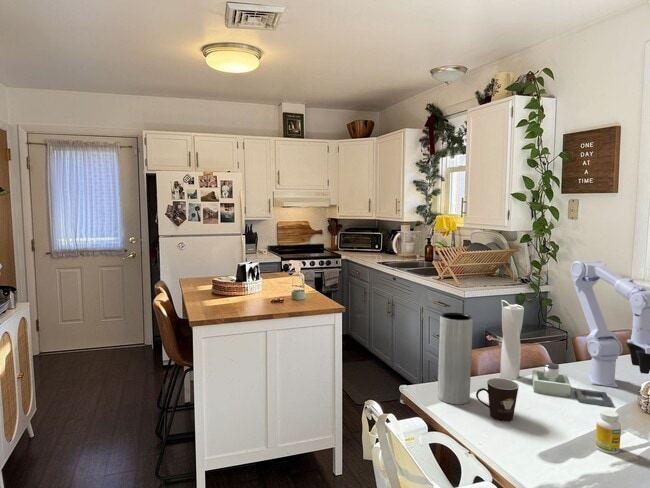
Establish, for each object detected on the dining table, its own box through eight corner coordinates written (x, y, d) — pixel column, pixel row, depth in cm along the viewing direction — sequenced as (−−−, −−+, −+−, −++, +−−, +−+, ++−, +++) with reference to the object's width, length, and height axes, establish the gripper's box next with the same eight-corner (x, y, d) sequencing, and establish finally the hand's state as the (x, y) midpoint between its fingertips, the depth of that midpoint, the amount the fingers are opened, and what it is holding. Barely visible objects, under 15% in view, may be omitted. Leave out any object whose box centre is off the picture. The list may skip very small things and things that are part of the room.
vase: (471, 395, 151) (474, 314, 149) (467, 407, 142) (470, 321, 140) (440, 390, 155) (443, 311, 153) (434, 401, 146) (437, 317, 144)
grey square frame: (574, 391, 155) (574, 388, 155) (605, 395, 152) (605, 392, 152) (578, 402, 147) (579, 398, 147) (611, 406, 144) (611, 403, 143)
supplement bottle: (601, 441, 122) (603, 406, 121) (623, 450, 118) (626, 414, 117) (591, 447, 119) (593, 411, 118) (613, 456, 115) (615, 419, 114)
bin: (532, 380, 164) (532, 370, 164) (565, 385, 160) (566, 374, 160) (533, 392, 154) (534, 380, 154) (570, 397, 150) (570, 385, 150)
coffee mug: (516, 412, 139) (517, 380, 138) (518, 425, 131) (519, 391, 130) (475, 406, 142) (476, 375, 142) (475, 418, 134) (476, 385, 134)
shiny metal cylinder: (540, 384, 159) (541, 363, 158) (550, 382, 160) (551, 362, 159) (550, 389, 155) (551, 367, 154) (560, 387, 156) (561, 366, 155)
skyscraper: (495, 377, 167) (498, 301, 165) (499, 371, 174) (503, 297, 171) (518, 381, 163) (522, 304, 161) (522, 375, 170) (526, 300, 167)
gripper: (621, 321, 156) (619, 360, 157) (636, 332, 142) (633, 375, 143) (645, 323, 154) (643, 363, 155) (663, 334, 140) (659, 378, 141)
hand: (640, 369), depth 149 cm, fingers open, 7 cm apart
